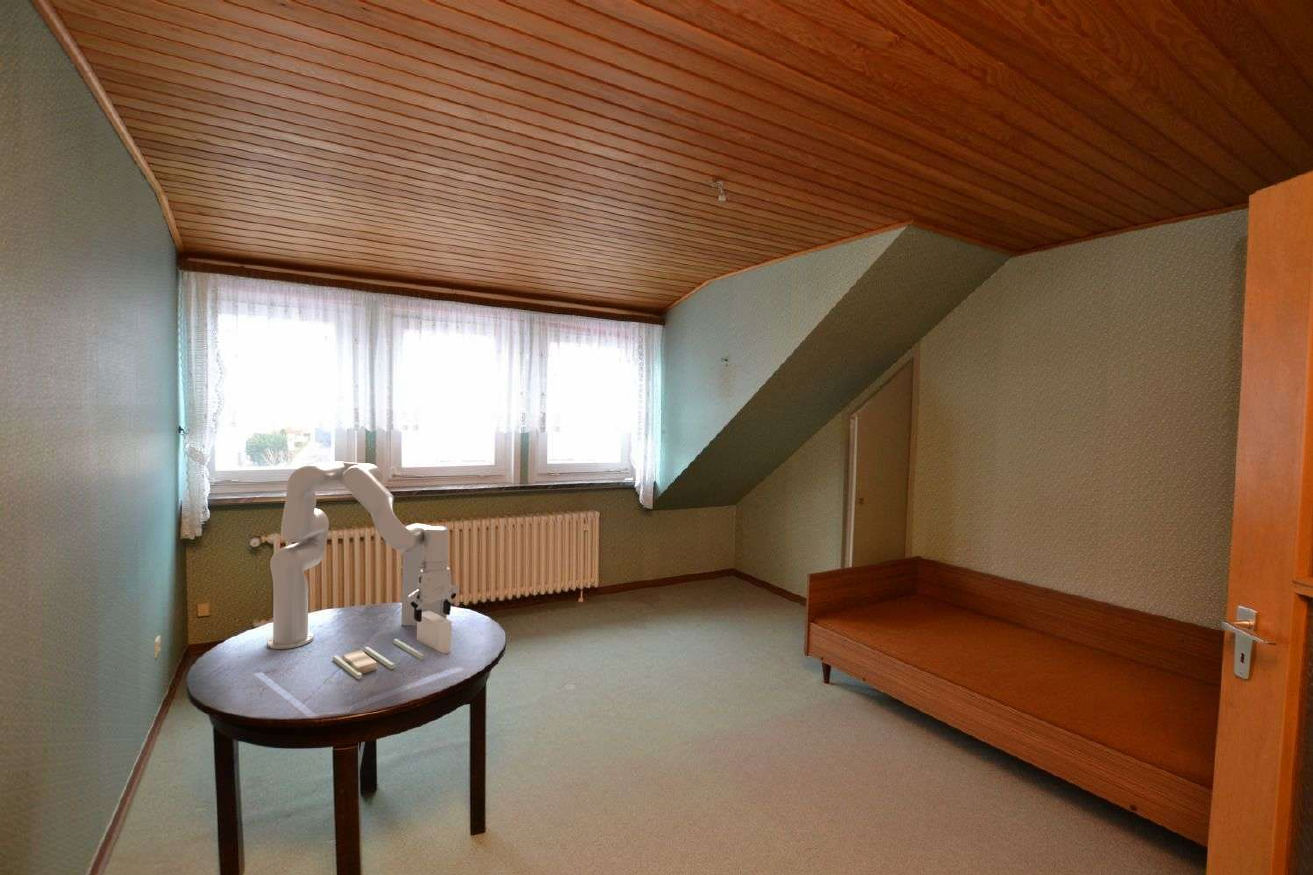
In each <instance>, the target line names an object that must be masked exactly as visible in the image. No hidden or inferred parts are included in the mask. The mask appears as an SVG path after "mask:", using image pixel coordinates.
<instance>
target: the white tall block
mask: <svg viewBox="0 0 1313 875" xmlns="http://www.w3.org/2000/svg"><path fill="white" fill-rule="evenodd" d="M401 557H402V563H401V564H402V565H401V566H402V567H401V568H402V569H401V572H402V573H401V613H400V614H401V617H400V619H401V621H400V622H401V624H400V625H401V626H409V625H413V626H412V627H417V621H416V620H415V619H414V608H413V607H412V606H411V605H410V604H409V602H408V600H407V596H408V595H410V594H411V593H413V592H414V591H416V590H417V583H418V578H419V574H420V570H422V568H419V564H421V563H422V561H423V546H420V547H417V548H415V549H413V550H411V551H408V552H402V556H401ZM448 566H449V562H447V567H448ZM448 568H449V567H448ZM413 600H414V602H416V600H417V598H416V597H415V598H414V599H413ZM444 601H445V600H441V601H436V602H432V603H424V604H423V606H422V607H421V608H420V609H422V612H425V611H431V612H433V613H435V614H438V615H440V616H442V617H444V618H446V619H448V618H447V617H448V615H446V614H444V613H443V602H444Z"/></svg>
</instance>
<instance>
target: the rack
mask: <svg viewBox="0 0 1313 875" xmlns="http://www.w3.org/2000/svg"><path fill="white" fill-rule="evenodd" d="M393 644H394V645H396V646H398V647H399V648H400V649H402V650H404V651H406V652H407V653H409V654H411V655H412V656H414V657H416V658H417V659H419V660H422V661H423V660H425V654H423V653H422V652H420V651H419V650H416V648H413V647H412V646H410V645H409V644H407V643H404V642H403V641H401V640H400V639H398V638H394V639H393ZM364 653H365V654H367V655H368V656H371V658H374V660H375V661H376V660H377V661H378V662H380V663H381V664H382V665H384V666H386V667H387V668H388V669H389V670H393V669H395V663H394V662H392V661H390V660H389V659H388V658H386V657H384V656H383V655H382V654H380V653H378V652H377V651H375V650H374V649H372V648H371V647H369V646H365V647H364ZM332 656H333V657H332V661H334V662H335V663H336V664H337V665H339V666H340V667H341V668H342V669H344V670H346V671H347V672H348V673H350V675H352V676H353V677H354V678H355V679H357V680H361V679H363V674H361V673H360V672H359V671H357V670H356V669H355V668H353V667H352V666H351V665H349V664H348V663H347V662H345V661H344V660H343V658H341V657H340V656H339V655H338V654H337V655H332Z"/></svg>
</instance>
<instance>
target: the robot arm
mask: <svg viewBox="0 0 1313 875" xmlns="http://www.w3.org/2000/svg"><path fill="white" fill-rule="evenodd" d="M382 481H383V473H382V470H381V469H380V468H379V467H378V466H377V465H375V464H374V463H373V464H372V463H364V462H363V463H362V462H346V461H330V462H319V463H313V464H308V465H305V466H302V467H299V468H298V469H297V468H296V469H295V470H294V471H293V472H292V473H291V474H290V476H289V477H288V479H287V484H286V496H285V502H284V508H283V514H282V518H281V519H282V520H281V525H280V534H281V537H282V538H283V539H284V540H285V541H286V542H289V543H292V544H288V545H286V546H283V547H281V548H279V549H278V550H276V551H274V554H273V555H272V556H271V558H270V562H269V564H270V565H269V566H270V571H271V576H272V577H271V578H272V586H273V589H272V591H273V595H272V596H273V602H272V604H273V606H272V607H273V608H272V609H273V610H272V611H273V612H272V613H273V614H272V616H273V617H272V618H273V620H272V621H273V626H272V629H273V630H272V632H273V634H272V635H273V636H272V637H270V638H269V639H268V640H267V643H266V644H267V647H268V648H269V647H270V648H269V649H273V650H287V649H292V648H293V649H294V648H299V647H301V646H305V645H307V644H309V643H310V642H312V641H313V640H314V633H312V632H310V631H309V582H308V578H307V577H306V573H305V571H307V570H309V569H311V568H314V567H315V566H317V565H319V564H320V563H321V562H322V560H323V558H324V555H325V551H326V546H327V545H326V544H327V541H328V534H329V526H330V523H329V522H330V521H329V518H328V516H327V514H326V513H325V512H324V511H323V510H321V509H319V508H316V506H317V495H316V491H322V490H327V489H328V490H329V489H333V488H339V487H340V488H345V489H346V490H347V491H348V492H349V493H350V494H351V496H353V497H354V498H355V500H356V501H357V502H359V503H360V504H361V506H363V508H365V510H366V511H368V513H370V515H371V519H372V522H373V524H374V525H373V526H374V528H375V530H376V531H377V533H378V534H379V536H381V538H382V539H383V540H384V541H385V542H386V543H387V544H388V545H389V546H390V547H391V548H393V549H394V550H396V551H398V552H400V553H403V552H408V551H411V550H413V549H415V548H417V547H420V546H423V561H422V563H421V564H419V568H422V570H420V574H419V578H418V583H417V590H416V591H414V592H413V593H411V594H410V595H408V596H407V600H408V602H409V604H410V605H411V606H412V607H413V608H414V619H415V620H416V621H418V622H421V620H422V609H420V608H421V607H422V606H423V604H424V603H432V602H436V601H441V600H445V601H444V602H443V613H444V614H446V615H447V616H450V615H451V608H452V603H453V602H454V599H455V598H456V597H457V593H458V592H459V590H460V587H459V586H456V585H454V584H452V575H451V569H450V567H447V562H448V561H449V560H448V558H449V543H450V542H449V539H450V531H449V528H448V527H447V526H443V525H429V524H424V523H417V522H415V523H411V524H409V525H407V526H405V525H404V523H402V522H401V521H400V520H399V518H398V517H397V516H396V515H395V512H394V510H393V505H394V500H395V498H394V495H393V494H392V493H391V492H390V491H389V490H388V489H387V487H386V486H384V485H383V483H382ZM448 563H449V562H448ZM415 597H416V598H417V600H416V602H414V600H413V599H414V598H415Z"/></svg>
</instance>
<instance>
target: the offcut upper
mask: <svg viewBox="0 0 1313 875" xmlns="http://www.w3.org/2000/svg"><path fill="white" fill-rule="evenodd" d="M342 659H343V660H344V661H345V662H347V663H348V664H349V665H351V666H352V667H353V668H355V669H356V670H357V671H359V672H360V673H361V674H362V673H363V674H366V673H369V671H370V672H373V671H375V669H376V670H377V668H378V664H377V663H378V662H377V661H376V660H375V659H373V657H370V655H369V654H368V653H366V652H365V651H362V650H361V649H359V650H356V651H351V652H347V653H343V654H342ZM372 670H373V671H372ZM365 672H366V673H365ZM363 674H362V675H363Z"/></svg>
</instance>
